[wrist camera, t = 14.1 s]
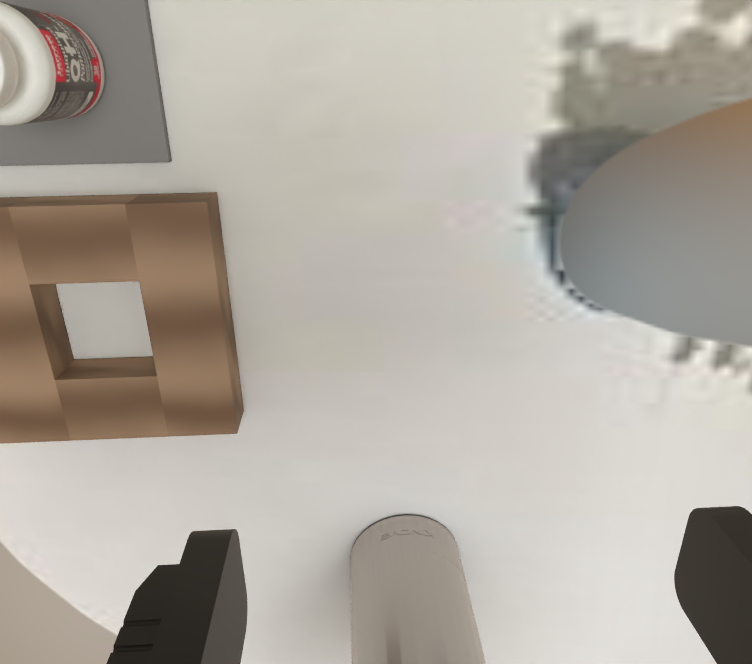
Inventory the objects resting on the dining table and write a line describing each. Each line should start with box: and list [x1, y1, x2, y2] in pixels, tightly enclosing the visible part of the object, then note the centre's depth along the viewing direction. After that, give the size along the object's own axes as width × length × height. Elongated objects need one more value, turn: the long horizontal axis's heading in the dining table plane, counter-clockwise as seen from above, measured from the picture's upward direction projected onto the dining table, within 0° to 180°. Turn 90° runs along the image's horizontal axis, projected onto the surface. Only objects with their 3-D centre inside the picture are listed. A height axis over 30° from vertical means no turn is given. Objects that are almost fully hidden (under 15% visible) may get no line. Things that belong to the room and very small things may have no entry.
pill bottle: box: [0, 2, 104, 126], centre depth 29 cm, size 5×5×10 cm
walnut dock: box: [0, 192, 244, 443], centre depth 39 cm, size 16×16×3 cm
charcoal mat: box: [0, 0, 172, 166], centre depth 33 cm, size 11×11×1 cm
